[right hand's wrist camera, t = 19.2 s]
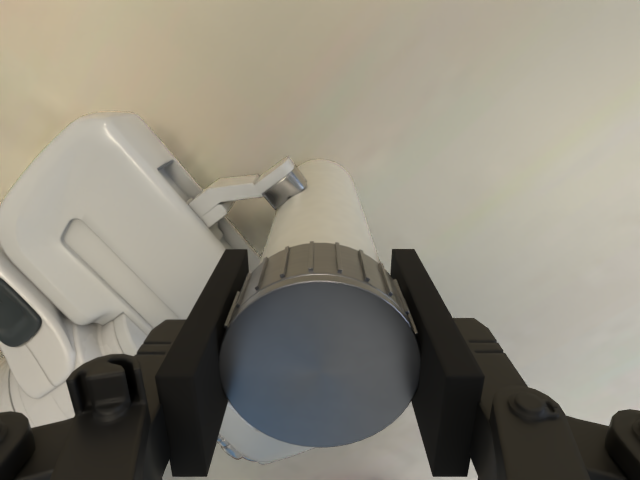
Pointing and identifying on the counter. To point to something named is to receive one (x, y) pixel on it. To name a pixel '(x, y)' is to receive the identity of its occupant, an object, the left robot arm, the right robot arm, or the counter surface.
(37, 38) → the counter surface
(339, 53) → the counter surface
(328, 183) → the jar
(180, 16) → the counter surface
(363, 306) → the lid
